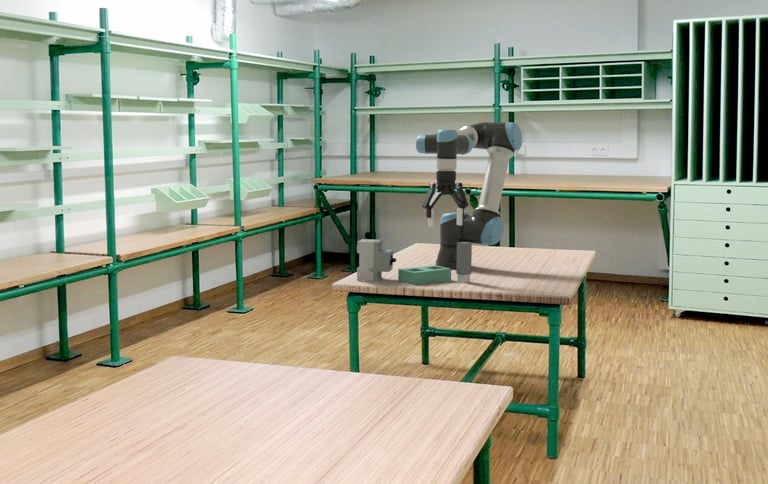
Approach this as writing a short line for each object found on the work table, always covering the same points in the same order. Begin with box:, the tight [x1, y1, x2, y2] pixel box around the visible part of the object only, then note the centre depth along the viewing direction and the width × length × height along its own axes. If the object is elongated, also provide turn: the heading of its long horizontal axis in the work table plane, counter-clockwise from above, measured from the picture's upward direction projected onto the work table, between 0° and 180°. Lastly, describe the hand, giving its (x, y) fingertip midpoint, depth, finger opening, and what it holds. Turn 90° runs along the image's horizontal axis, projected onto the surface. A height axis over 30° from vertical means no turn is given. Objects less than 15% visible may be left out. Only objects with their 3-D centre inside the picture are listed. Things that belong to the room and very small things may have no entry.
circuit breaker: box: [356, 238, 397, 282], centre depth 331 cm, size 8×14×15 cm, turn 78°
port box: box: [397, 264, 452, 286], centre depth 330 cm, size 18×10×4 cm, turn 125°
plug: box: [455, 242, 473, 283], centre depth 327 cm, size 4×4×15 cm
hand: (445, 225), depth 329 cm, fingers open, 13 cm apart
